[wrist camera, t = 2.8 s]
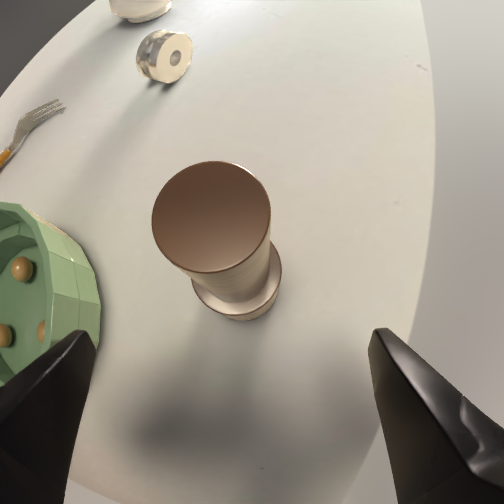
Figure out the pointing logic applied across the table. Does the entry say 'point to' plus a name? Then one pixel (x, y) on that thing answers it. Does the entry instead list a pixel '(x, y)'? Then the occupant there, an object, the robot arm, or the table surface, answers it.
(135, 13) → the flower vase
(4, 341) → the bead
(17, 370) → the bowl
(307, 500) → the table surface
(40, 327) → the bead
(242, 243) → the brown stepped cylinder
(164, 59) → the metal grooved wheel
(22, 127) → the fork
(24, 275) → the bead
